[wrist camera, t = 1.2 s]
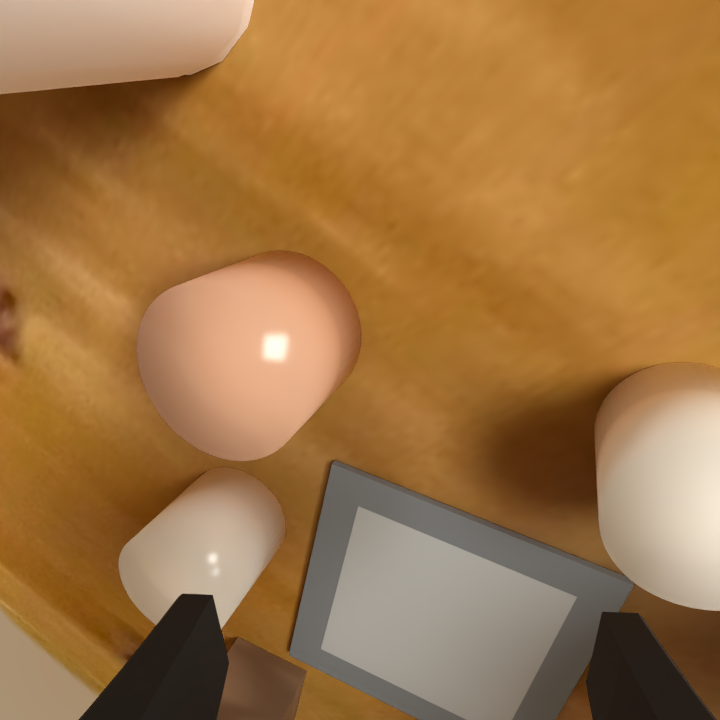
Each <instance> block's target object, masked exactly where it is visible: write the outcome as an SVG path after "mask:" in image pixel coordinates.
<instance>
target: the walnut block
mask: <svg viewBox="0 0 720 720" xmlns="http://www.w3.org/2000/svg"><path fill="white" fill-rule="evenodd" d="M227 655H228V660H229V666H228V671H227V675H226V680H225V685H224V689H223V694H222V698H221V703H220V707H219V711H218V715H217V720H294V718H295V715H296V711H297V707H298V703H299V699H300V695H301V691H302V687H303V683H304V679H305V675H306V670H304V669H302V668H300V667H298V666H296V665H293V664H291V663H289V662H287V661H285V660H283V659H281V658H279V657H277V656H275V655H273V654H271V653H269V652H267V651H265V650H263V649H261V648H259V647H257V646H255V645H253V644H251V643H249V642H247V641H245V640H243V639H241V638H239V637H238V638H237V639H236V641H235V642H234V644H233V645H232V647H231V648H230V650H229V651H228V653H227Z"/></svg>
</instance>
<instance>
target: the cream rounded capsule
mask: <svg viewBox="0 0 720 720" xmlns="http://www.w3.org/2000/svg"><path fill="white" fill-rule="evenodd" d="M285 535H286V521H285V516H284V513H283V510H282V508H281V506H280V504H279V502H278V501H277V499H276V498H275V496H274V495H273V493H272V492H271V491H270V490H269V489H268V488H267V487H266V486H265V485H264V484H263V483H262V482H260V481H259V480H258V479H256V478H255V477H253V476H252V475H250V474H248V473H246V472H243V471H241V470H238V469H234V468H227V467H219V468H214V469H211V470H208V471H207V472H205V473H204V474H202V475H201V476H200V477H199V478H198V479H197V480H196V481H195V482H193V483H192V484H191V485H190V486H189V487H188V488H187V489H186V490H185V491H184V492H183V493H181V494H180V495H179V496H178V497H177V498H176V499H175V500H174V501H173V502H172V503H170V504H169V505H168V506H167V507H166V508H165V509H164V510H163V511H162V512H161V513H160V514H158V515H157V516H156V517H155V518H154V519H153V520H152V521H151V522H150V523H149V524H147V525H146V526H145V527H144V528H143V529H142V530H141V531H140V532H139V533H138V534H137V535H135V536H134V537H133V538H132V539H131V540H130V541H129V542H128V543H127V544H126V545H125V546H124V547H123V549H122V551H121V553H120V557H119V573H120V577H121V581H122V583H123V586H124V588H125V590H126V592H127V594H128V596H129V597H130V599H131V600H132V602H133V603H134V604H135V605H136V607H137V608H138V609H139V610H140V611H141V612H142V613H143V614H144V615H145V616H146V617H147V618H148V619H149V620H150V621H152V622H153V623H154V624H155V625H157V624H158V622H159V621H160V620H161V619H162V617H163V616H164V615H165V613H166V612H167V611H168V609H169V608H170V607H171V606H172V604H173V603H174V602H175V600H176V599H177V598H178V597H179V596H180V595H181V594H182V593H183V594H206V595H213V598H214V602H215V606H216V610H217V614H218V618H219V623H220V627H221V629H222V628H223V626H224V625H225V623H226V622H227V621H228V619H229V618H230V616H231V615H232V614H233V612H234V611H235V609H236V608H237V607H238V605H239V604H240V602H241V601H242V600H243V598H244V597H245V595H246V594H247V593H248V591H249V590H250V589H251V587H252V586H253V584H254V583H255V582H256V580H257V579H258V577H259V576H260V575H261V573H262V572H263V570H264V569H265V568H266V566H267V565H268V563H269V562H270V561H271V559H272V558H273V556H274V555H275V554H276V552H277V551H278V549H279V548H280V547H281V545H282V543H283V541H284V539H285Z"/></svg>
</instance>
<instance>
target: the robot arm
mask: <svg viewBox="0 0 720 720" xmlns="http://www.w3.org/2000/svg"><path fill="white" fill-rule="evenodd" d="M228 666H229V660H228V655H227V651H226V647H225V643H224V639H223V635H222V631H221V627H220V623H219V618H218V614H217V610H216V606H215V602H214V598H213V595H206V594H183V593H182V594H181V595H180V596H179V597H178V598H177V599H176V600H175V602H174V603H173V604H172V606H171V607H170V608H169V609H168V611H167V612H166V613H165V615H164V616H163V617H162V619H161V620H160V621H159V622H158V624H157V625H156V626H155V628H154V629H153V630H152V631H151V633H150V634H149V635H148V637H147V638H146V639H145V640H144V642H143V643H142V644H141V645H140V647H139V648H138V649H137V650H136V652H135V653H134V654H133V655H132V657H131V658H130V659H129V660H128V662H127V663H126V664H125V665H124V667H123V668H122V669H121V670H120V671H119V673H118V674H117V675H116V676H115V677H114V679H113V680H112V681H111V682H110V683H109V685H108V686H107V687H106V688H105V689H104V691H103V692H102V693H101V694H100V695H99V697H98V698H97V699H96V700H95V701H94V703H93V704H92V705H91V706H90V707H89V709H88V710H87V711H86V712H85V713H84V714H83V715H82V716H81V718H80V719H79V720H217V715H218V711H219V707H220V703H221V698H222V694H223V689H224V685H225V680H226V675H227V671H228ZM586 685H587V691H588V696H589V701H590V706H591V712H592V717H593V720H716V719H715V717H714V716H713V715H712V713H711V712H710V711H709V709H708V708H707V707H706V705H705V704H704V703H703V701H702V700H701V699H700V697H699V696H698V695H697V693H696V692H695V691H694V689H693V688H692V687H691V685H690V684H689V683H688V681H687V680H686V678H685V677H684V676H683V674H682V673H681V672H680V670H679V669H678V668H677V666H676V665H675V663H674V662H673V661H672V659H671V658H670V656H669V655H668V654H667V652H666V651H665V649H664V648H663V646H662V645H661V644H660V642H659V641H658V639H657V638H656V636H655V635H654V634H653V632H652V631H651V629H650V628H649V626H648V625H647V623H646V622H645V621H644V619H643V618H642V617H641V616H640V615H639V614H638V613H621V612H602V614H601V619H600V623H599V628H598V632H597V636H596V641H595V645H594V649H593V654H592V658H591V663H590V667H589V671H588V676H587V680H586Z"/></svg>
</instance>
